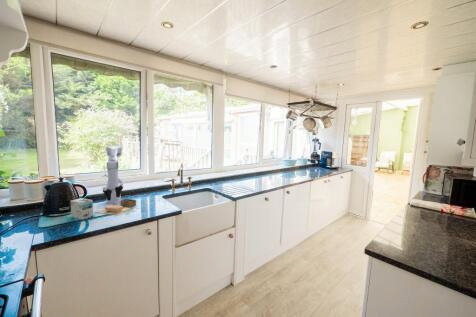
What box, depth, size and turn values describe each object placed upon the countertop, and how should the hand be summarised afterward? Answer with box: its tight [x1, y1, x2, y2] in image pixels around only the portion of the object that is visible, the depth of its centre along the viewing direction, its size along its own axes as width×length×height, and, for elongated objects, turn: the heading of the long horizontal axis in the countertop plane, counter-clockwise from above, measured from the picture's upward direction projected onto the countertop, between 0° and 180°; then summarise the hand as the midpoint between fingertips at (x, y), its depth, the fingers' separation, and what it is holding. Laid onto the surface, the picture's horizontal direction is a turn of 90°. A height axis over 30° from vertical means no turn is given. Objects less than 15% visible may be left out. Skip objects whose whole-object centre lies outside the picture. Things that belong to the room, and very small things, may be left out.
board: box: [94, 206, 135, 216], centre depth 137 cm, size 18×14×1 cm
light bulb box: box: [70, 197, 94, 220], centre depth 126 cm, size 11×7×11 cm, turn 71°
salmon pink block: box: [104, 204, 124, 212], centre depth 136 cm, size 9×5×3 cm, turn 78°
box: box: [119, 198, 137, 208], centre depth 148 cm, size 9×5×4 cm, turn 78°
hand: (113, 198), depth 136 cm, fingers open, 7 cm apart
